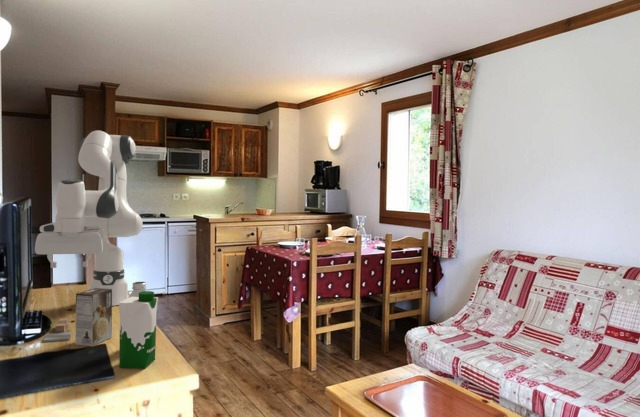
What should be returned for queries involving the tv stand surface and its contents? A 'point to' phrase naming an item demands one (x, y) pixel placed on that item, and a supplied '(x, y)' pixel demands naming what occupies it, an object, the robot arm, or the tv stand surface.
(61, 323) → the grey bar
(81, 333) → the coffee box
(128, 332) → the milk carton
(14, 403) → the tv stand surface
